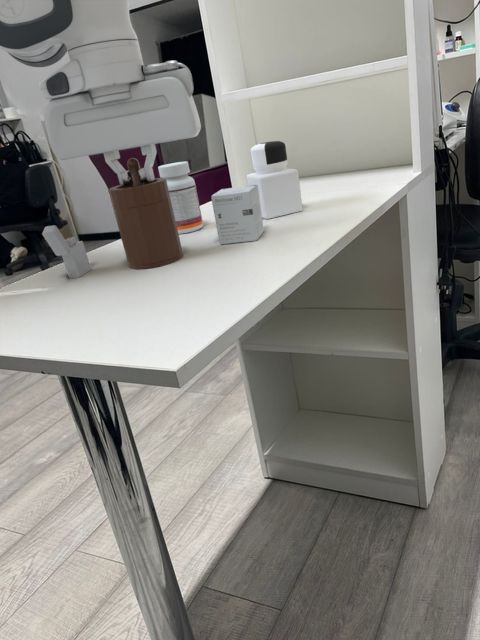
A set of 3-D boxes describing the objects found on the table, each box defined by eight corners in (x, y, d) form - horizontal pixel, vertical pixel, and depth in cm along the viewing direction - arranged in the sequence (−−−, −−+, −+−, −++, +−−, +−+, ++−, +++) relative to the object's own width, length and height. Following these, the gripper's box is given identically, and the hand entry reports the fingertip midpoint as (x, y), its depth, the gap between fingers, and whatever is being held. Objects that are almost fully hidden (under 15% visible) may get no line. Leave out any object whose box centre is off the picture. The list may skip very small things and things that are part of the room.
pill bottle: (174, 228, 100) (160, 164, 95) (207, 223, 99) (193, 159, 94) (166, 236, 94) (150, 169, 89) (200, 231, 93) (186, 163, 88)
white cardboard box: (219, 245, 82) (209, 195, 79) (228, 235, 87) (219, 188, 84) (258, 240, 80) (249, 190, 77) (265, 230, 86) (257, 183, 82)
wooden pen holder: (121, 272, 76) (99, 193, 72) (139, 256, 84) (120, 183, 79) (175, 265, 75) (156, 184, 71) (188, 249, 82) (172, 175, 78)
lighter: (81, 270, 81) (64, 217, 78) (91, 268, 81) (75, 215, 78) (58, 285, 75) (39, 228, 72) (70, 284, 75) (51, 227, 72)
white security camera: (287, 206, 101) (278, 138, 96) (303, 210, 95) (294, 138, 90) (252, 214, 99) (240, 146, 94) (266, 219, 93) (254, 146, 88)
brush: (140, 261, 78) (114, 161, 72) (147, 254, 81) (123, 158, 75) (164, 258, 77) (140, 157, 71) (170, 251, 80) (148, 154, 75)
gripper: (193, 58, 70) (214, 168, 76) (49, 87, 74) (80, 190, 79) (181, 55, 64) (205, 175, 70) (26, 87, 68) (61, 198, 74)
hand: (138, 183), depth 75 cm, fingers closed on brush, 2 cm apart
